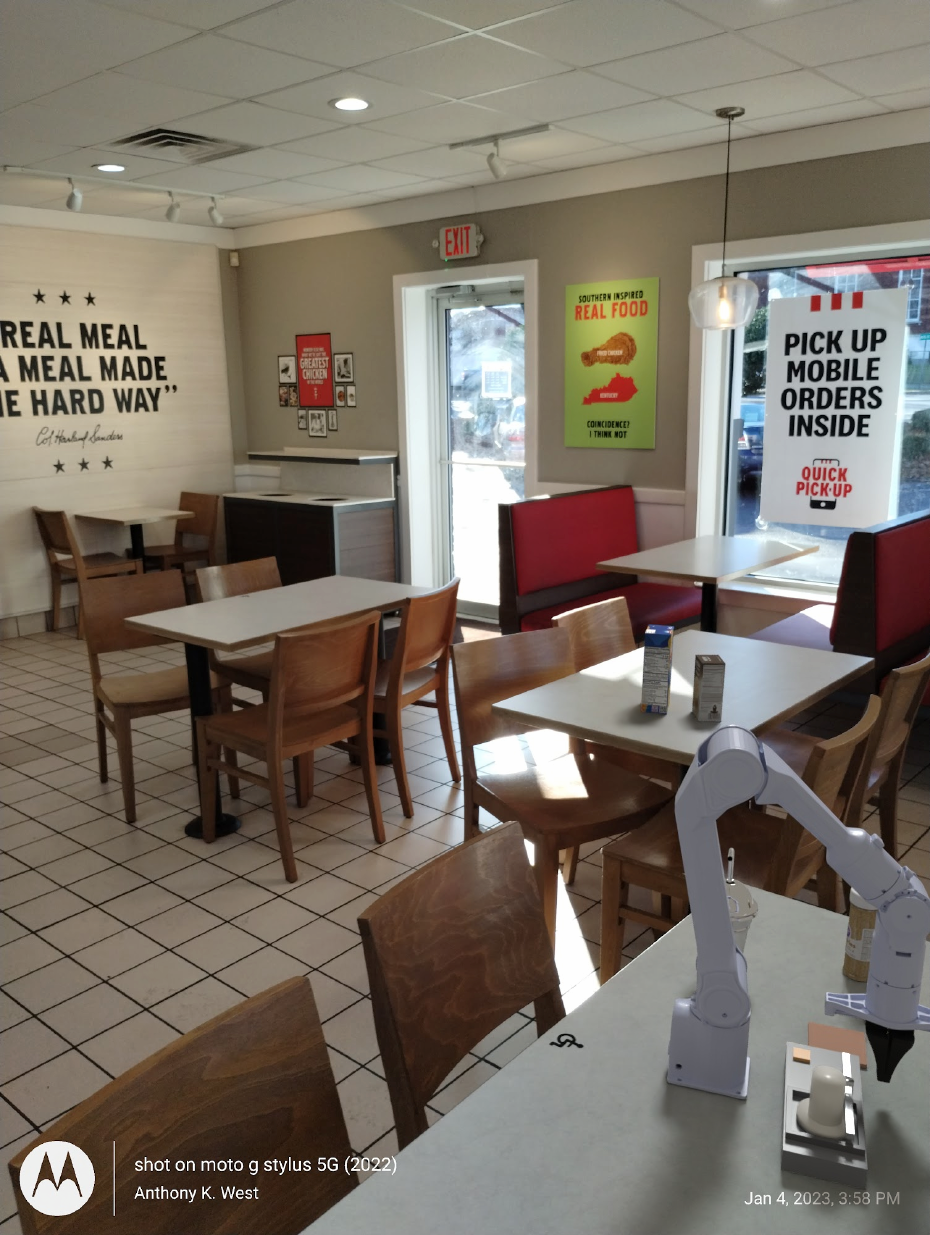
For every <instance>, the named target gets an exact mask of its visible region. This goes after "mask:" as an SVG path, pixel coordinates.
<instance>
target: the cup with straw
mask: <svg viewBox="0 0 930 1235" xmlns="http://www.w3.org/2000/svg"><path fill="white" fill-rule="evenodd" d="M727 861H728V865H727V866H728V868H727V877H725V883H726V889H727V896H728V902H729V909H730V915H731V921H732V928H733V931H734V935H735V941H736V944H737V946H738V948H739V949H740V951H741V952H742V953H743V954H744V952H745V947H746V943H747V939H748V938H747V937H748V933H749V932H748V931H749V929H750V927H751V924H752V922H753V919H754V918H756V917H757V916H758V914H759V912H760V911H759V910H760V909H759V905H758V902H757V901H756V900H755V899H754V898H753V895H752V893H751V890H750V889H749V888H748V887H747V885H746V884H744V883H743V882H741V881H739V880H738V879H735V878H733V877H734V876H733V875H734V864H735V862H734V861H735V849H734V848H733V847H730V848H729V849H728V855H727Z"/></svg>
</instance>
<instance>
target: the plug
mask: <svg viewBox="0 0 930 1235" xmlns="http://www.w3.org/2000/svg"><path fill="white" fill-rule="evenodd" d="M845 1088H846V1077H845V1075H844V1074H843V1073H842V1072H841V1071H839V1070H837V1069H835V1068H833V1067H829V1066H818V1067H815V1068H814V1069H813V1071H812V1079H811V1088H810V1098H806V1099H804V1100H802V1101H801V1102H800V1103H799V1104H798V1106H797V1113H796V1119H797V1122H798V1124H799V1125H800V1126H801V1128H802V1129H803V1130H805V1131H806V1132H807V1133H809V1134H813V1135H817V1136H821V1137H826V1138H830V1139H835V1140H839V1141H842V1140H845V1139H846V1132H845V1111H844V1107H843V1105H844V1097H845Z"/></svg>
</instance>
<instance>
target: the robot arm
mask: <svg viewBox="0 0 930 1235" xmlns="http://www.w3.org/2000/svg"><path fill="white" fill-rule="evenodd" d="M761 744H762V749H763V750H761V748H760V743H759V741H758V738H757V737H756V736H755V734H754V733H753V732H752V731H751V730H749V729H748V728H746V727H744V726H741V725H737V724H728V725H723V726H720V727H718V728H717V729H715V730H714V731H713V732H712V733H710V735H708V736H707V737H706V738H705V739H704V740H703V741H702V742H700V743H699V745H698V747H697V750H696V752H695V755H694V758H693V759H692V762H691V764H690V766H689V768H688V770H687V773H686V774H685V776H684V778H683V780H682V782H681V784H680V786H679V788H678V790H677V791H676V794H675V800H674V815H675V822H676V827H677V828H676V829H677V832H678V840H679V846H680V851H681V852H680V853H681V856H682V857H681V858H682V864H683V865H682V866H683V870H684V877H685V882H686V888H687V895H688V901H689V902H688V903H689V905H690V906H689V907H690V913H691V919H692V924H693V931H694V937H695V938H694V939H695V943H696V952H697V954H696V958H695V969H696V970H695V971H696V990H695V992H694V993H693V995H691V997H690V998H689V997H688V998H675V1000H674V1004H673V1010H672V1015H671V1024H670V1025H671V1026H670V1037H669V1038H670V1039H669V1040H668V1041H669V1042H668V1048H667V1055H668V1068H667V1070H668V1071H667V1077H666V1082H668V1083H669V1084H673V1085H677V1086H682V1087H685V1088H686V1087H687V1088H690V1089H691V1088H692V1089H696V1090H699V1091H700V1090H701V1091H704V1092H709V1093H713V1094H718V1095H722V1096H727V1097H732V1098H737V1099H741V1100H746V1099H748V1090H749V1081H750V1080H749V1079H750V1078H749V1077H750V1070H751V1069H750V1067H751V1066H750V1065H751V1058H750V1057H749V1056H748V1048H749V1038H750V1023H751V1005H752V1004H751V998H750V994H749V987H748V985H749V984H748V975H747V973H748V962H747V959H746V957H745V955H744V953H742V952H741V951H740V949H739V948H738V946H737V944H736V941H735V935H734V931H733V928H732V921H731V915H730V909H729V902H728V896H727V889H726V883H725V878H726V877H725V871H724V866H723V865H724V864H723V858H722V853H721V852H722V851H721V844H720V840H719V833H718V828H717V827H718V826H717V821H716V820H718V819H719V818H720V817H721V816H722V815H723V814H724V813H725V812H726V811H727V810H729V809H730V808H733V807H735V806H737V805H740V804H742V803H744V802H746V801H748V800H749V799H751V798H753V797H754V800H755V804H756V805H776V804H777V805H779V806H780V807H782V808H783V809H784V810H785V812H786V813H788V814H789V815H790V816H791V817H792V818H794V819H795V820H796V822H798V823H799V825H801V826H802V827H804V828H805V829H806V830H807V831H808V832H809V833H810V834H811V835H812V836H814V838H816V839H817V840H818V841H819V842H820V843H821V844H822V845H823V846H825V847H826V856H825V858H826V859H825V860H826V863H827V865H829V867H830V868H832V870H833V871H834V872H835V873H837V874H838V876H840V878H842V879H843V880H844V881H845V882H846V883H847V884H848V885H849V887H851V888H853V889H854V890H855V891H856V892H857V893H858V894H859V895H860V896H861V897H862V898H863V899H864V900H865V901H866V902H867V903H869V904H871V905H873V906H875V907H876V908H878V910H879V911H878V912H877V913H876V921H875V930H874V932H873V937H872V947H871V956H870V965H869V973H868V981H866V989H865V991H866V992H865V993H836V992H834V993H833V992H827V991H826V992H825V996H824V997H825V998H824V1015H825V1016H829V1017H834V1016H835V1015H840V1016H844V1017H849V1018H850V1017H851V1018H855V1019H859V1020H864V1027H865V1029H864V1030H865V1034H866V1037H867V1040H868V1042H869V1044H870V1048H871V1050H872V1053H873V1057H874V1061H875V1064H876V1065H875V1066H876V1070H875V1071H876V1072H875V1073H876V1081H877V1082H882V1083H886V1084H890V1083H891V1080H892V1077H893V1075H894V1073H895V1071H896V1068H897V1067H898V1065H899V1063H900V1062H901V1060H902V1059H903V1057H904V1056H905V1055H907V1053H908V1052H909V1051H910V1050H911V1049H913V1046H914V1044H915V1040H916V1036H915V1031H923V1032H929V1033H930V1007H926V1006H925V1005H921V1004H920V997H921V996H920V995H921V990H922V983H923V982H922V981H923V980H922V979H923V973H924V966H925V965H924V964H925V957H926V949H927V944H926V941H927V936H928V935H929V934H930V896H929V894H928V892H927V890H926V887H925V886H924V884H923V883H922V881H921V880H920V879H919V878H918V875H917V873H916V872H914V871H913V870H911V869H910V868H909V867H908V866H907V865H904V866H903V867H902V866H901V864H899V862H897V861H896V860H895V859H894V858H893V856H891V855H890V853H889V852H887V851H886V850H885V849H884V847H885V843H884V842H883V839H882V838H881V837H880V836H879V835H878V834H877V833H873V834H872V835H870V834H869V833H868V831H866V830H865V829H863V828H859V827H850V826H849V827H848V826H846V825H844V823H843V822H842V821H841V820H840V819H839V818H838V817H837V816H836V815H835V814H834V813H833V811H831V809H830V808H829V807H828V806H827V805H826V804H825V803H824V802H823V801H822V800H821V799H820V798H819V797H818V796H817V795H816V793H814V791H813V790H812V789H811V788H810V787H809V786H808V785H807V784H806V783H805V781H803V779H802V778H801V777H799V775H798V774H797V773H796V772H795V770H793V769H792V768H791V766H790V765H788V764H787V763H786V762H785V761H784V759H782V758H781V757H780V756H779V755H778V754H777V753H776V752H775V750H774V749H772V748H771V747H769V746H768V745H767V744H765V743H764V742H763V741H762V743H761Z"/></svg>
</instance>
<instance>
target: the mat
mask: <svg viewBox="0 0 930 1235" xmlns="http://www.w3.org/2000/svg"><path fill="white" fill-rule="evenodd" d="M807 1026H808V1028H807V1029H808V1034H807V1035H808V1038H807V1043H808V1045H807V1046H812V1047H817V1048H822V1049H827V1050H832V1051H837V1052H843V1053H848V1054H852V1055H857V1056H859V1062H860V1068H863V1069H867V1068H868V1060H867V1049H866V1038H865V1036H866V1035H865V1034H866V1033H865V1032H863V1031H857V1030H854V1029H853V1030H852V1029H848V1028H847V1029H846V1028H842V1027H837V1026H833V1025H827V1024H822V1023H817V1022H812V1021H808V1025H807Z"/></svg>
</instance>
